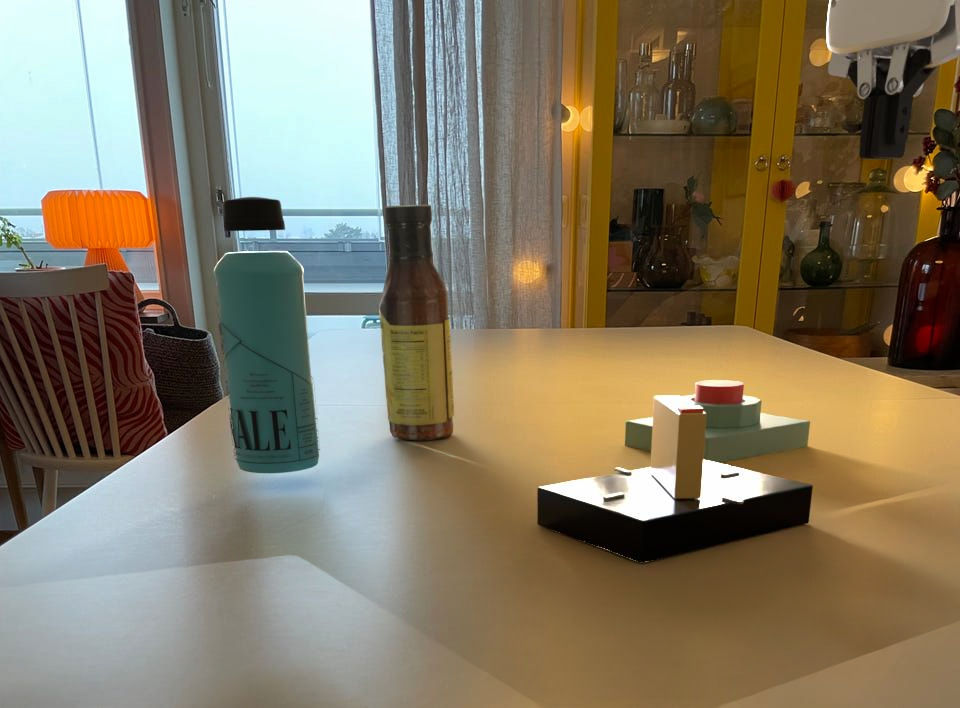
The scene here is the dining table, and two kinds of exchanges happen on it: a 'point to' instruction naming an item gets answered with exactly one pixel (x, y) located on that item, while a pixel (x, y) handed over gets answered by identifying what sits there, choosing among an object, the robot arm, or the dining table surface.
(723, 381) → the button
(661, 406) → the tan rectangular block
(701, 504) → the dial base
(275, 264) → the beverage bottle
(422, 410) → the sauce bottle
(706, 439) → the button block
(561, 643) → the dining table surface
